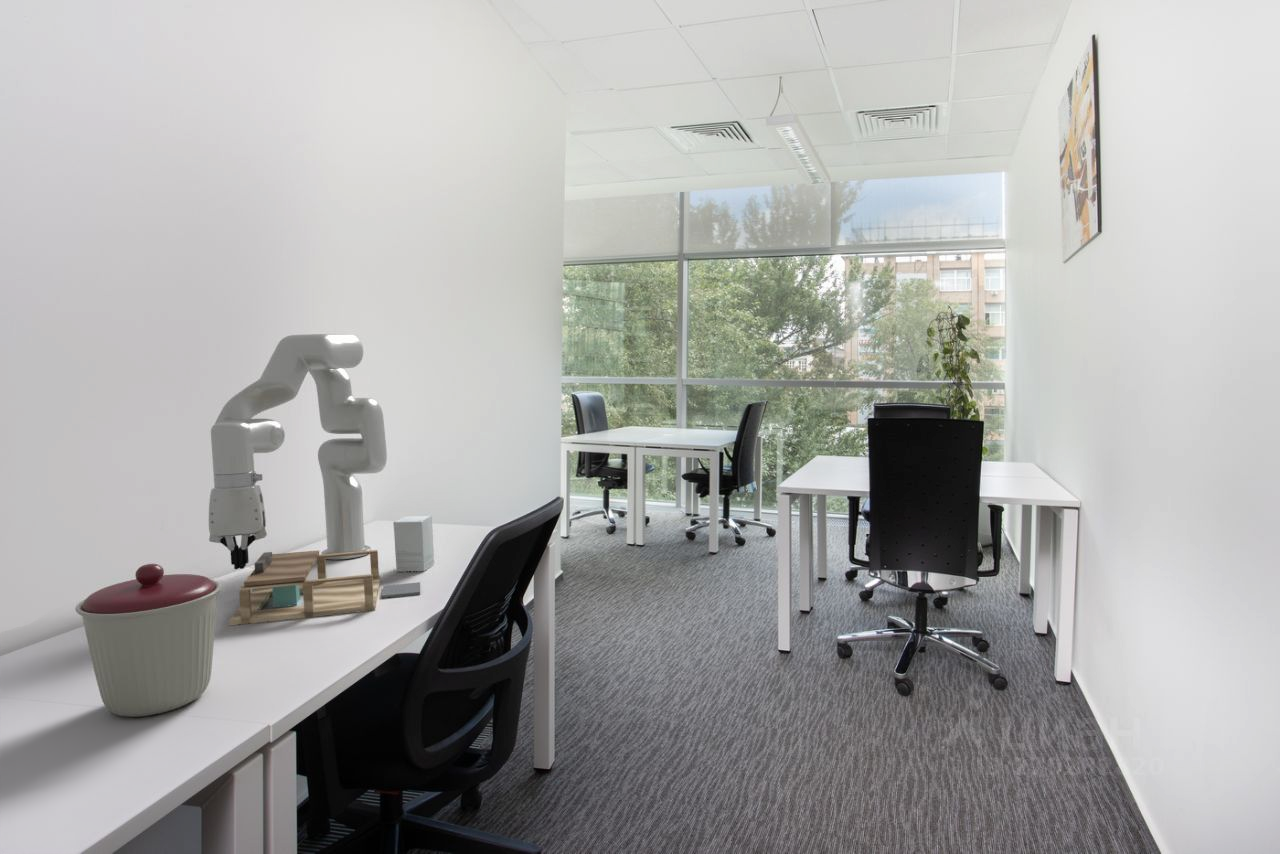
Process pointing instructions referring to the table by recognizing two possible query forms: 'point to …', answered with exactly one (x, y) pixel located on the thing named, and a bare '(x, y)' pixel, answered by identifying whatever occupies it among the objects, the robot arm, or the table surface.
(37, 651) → the table surface
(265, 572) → the walnut lid
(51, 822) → the table surface
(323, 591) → the light wood slatted frame
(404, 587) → the felt mat
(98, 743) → the table surface
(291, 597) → the teal block
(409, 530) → the supplement box
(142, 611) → the canister
